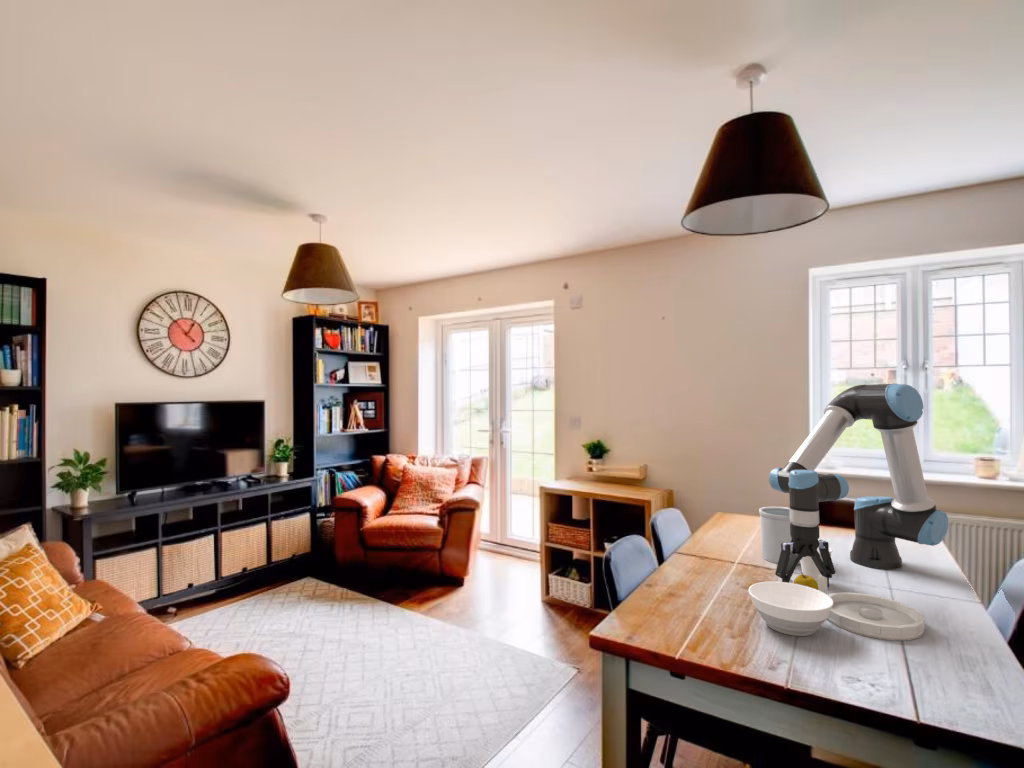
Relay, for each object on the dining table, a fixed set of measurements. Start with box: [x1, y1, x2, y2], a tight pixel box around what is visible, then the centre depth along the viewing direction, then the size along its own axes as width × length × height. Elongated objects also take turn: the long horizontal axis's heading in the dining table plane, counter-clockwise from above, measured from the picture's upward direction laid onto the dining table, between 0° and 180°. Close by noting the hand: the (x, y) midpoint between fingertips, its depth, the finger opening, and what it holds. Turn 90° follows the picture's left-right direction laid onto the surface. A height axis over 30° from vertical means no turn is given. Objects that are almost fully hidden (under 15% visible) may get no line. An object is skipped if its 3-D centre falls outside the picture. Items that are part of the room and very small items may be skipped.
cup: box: [800, 547, 833, 584], centre depth 165 cm, size 10×10×11 cm
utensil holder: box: [758, 506, 801, 566], centre depth 189 cm, size 15×15×18 cm
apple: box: [793, 571, 818, 590], centre depth 151 cm, size 6×6×8 cm
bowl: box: [748, 581, 833, 637], centre depth 134 cm, size 19×20×8 cm
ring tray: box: [825, 591, 926, 642], centre depth 137 cm, size 22×22×3 cm
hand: (806, 600), depth 151 cm, fingers open, 10 cm apart
